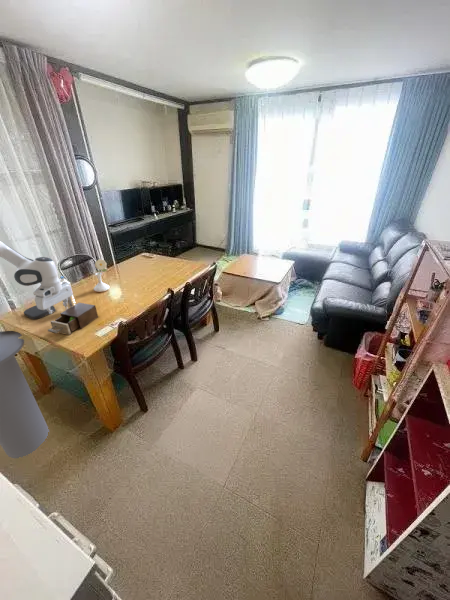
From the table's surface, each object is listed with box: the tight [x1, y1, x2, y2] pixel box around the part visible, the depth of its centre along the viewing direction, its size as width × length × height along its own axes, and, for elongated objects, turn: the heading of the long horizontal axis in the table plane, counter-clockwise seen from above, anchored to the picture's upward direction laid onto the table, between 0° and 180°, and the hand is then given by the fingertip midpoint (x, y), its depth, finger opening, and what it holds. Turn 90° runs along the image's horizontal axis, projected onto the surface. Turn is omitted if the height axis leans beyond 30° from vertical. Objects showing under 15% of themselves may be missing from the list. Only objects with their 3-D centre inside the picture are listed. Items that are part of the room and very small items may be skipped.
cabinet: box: [60, 302, 99, 330], centre depth 158 cm, size 15×13×9 cm
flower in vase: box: [93, 258, 110, 293], centre depth 194 cm, size 13×11×25 cm
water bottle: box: [59, 275, 77, 311], centre depth 165 cm, size 7×7×25 cm
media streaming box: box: [23, 305, 56, 320], centre depth 167 cm, size 15×15×3 cm
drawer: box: [47, 315, 79, 336], centre depth 149 cm, size 18×11×7 cm, turn 164°
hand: (58, 309), depth 143 cm, fingers open, 8 cm apart
